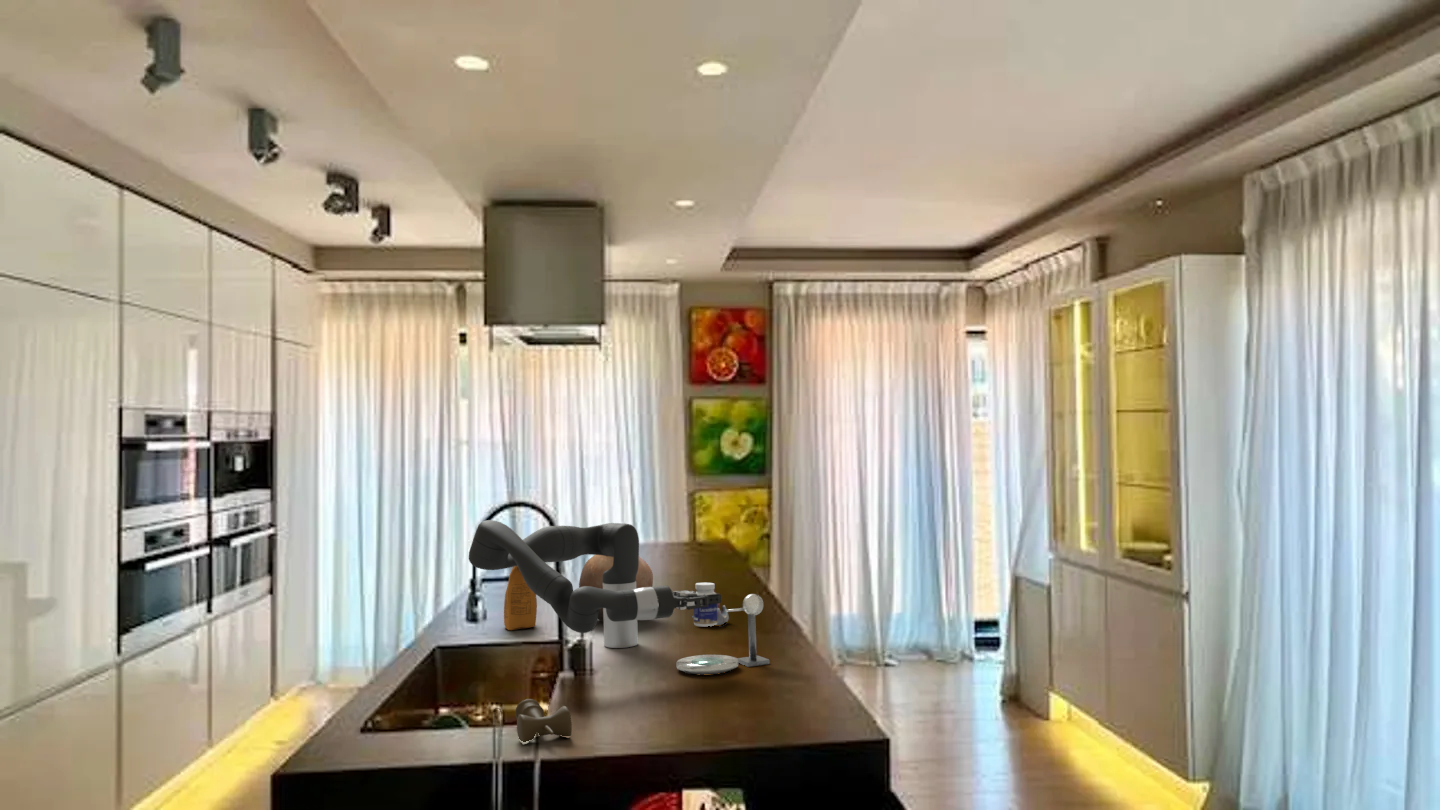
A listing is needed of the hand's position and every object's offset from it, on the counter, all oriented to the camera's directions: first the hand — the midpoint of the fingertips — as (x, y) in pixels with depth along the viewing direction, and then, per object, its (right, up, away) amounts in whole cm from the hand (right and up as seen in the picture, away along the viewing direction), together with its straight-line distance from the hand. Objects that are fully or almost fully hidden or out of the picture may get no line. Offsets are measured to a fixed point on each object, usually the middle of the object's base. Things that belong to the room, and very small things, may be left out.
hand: (714, 596), depth 242 cm
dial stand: (+8, -17, +3) cm, 19 cm away
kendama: (-33, -17, -52) cm, 64 cm away
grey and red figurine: (-1, -20, +58) cm, 61 cm away
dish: (-2, -17, -2) cm, 17 cm away
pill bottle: (-2, -7, -1) cm, 7 cm away
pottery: (-31, -21, +68) cm, 77 cm away
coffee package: (-60, -22, +63) cm, 90 cm away
